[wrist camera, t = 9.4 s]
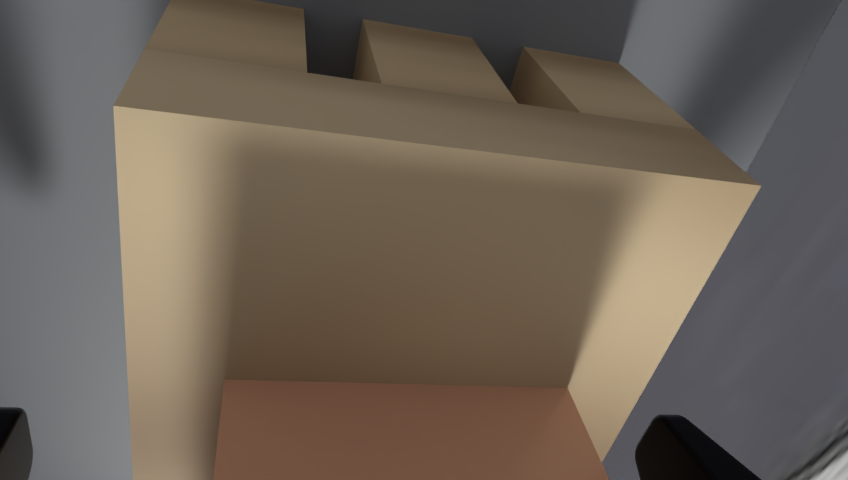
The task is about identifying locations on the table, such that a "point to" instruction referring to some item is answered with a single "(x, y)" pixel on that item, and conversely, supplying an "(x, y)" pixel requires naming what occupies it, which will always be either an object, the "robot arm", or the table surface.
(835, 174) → the table surface
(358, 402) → the block
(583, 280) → the tray
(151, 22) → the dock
